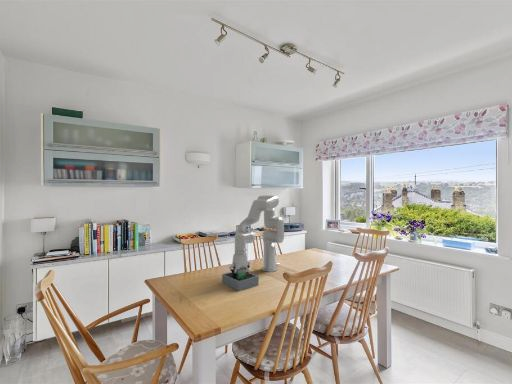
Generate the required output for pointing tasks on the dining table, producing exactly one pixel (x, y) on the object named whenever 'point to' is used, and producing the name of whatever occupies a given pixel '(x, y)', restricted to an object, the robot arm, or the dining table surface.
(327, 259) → the dining table surface
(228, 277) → the crate
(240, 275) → the food container
